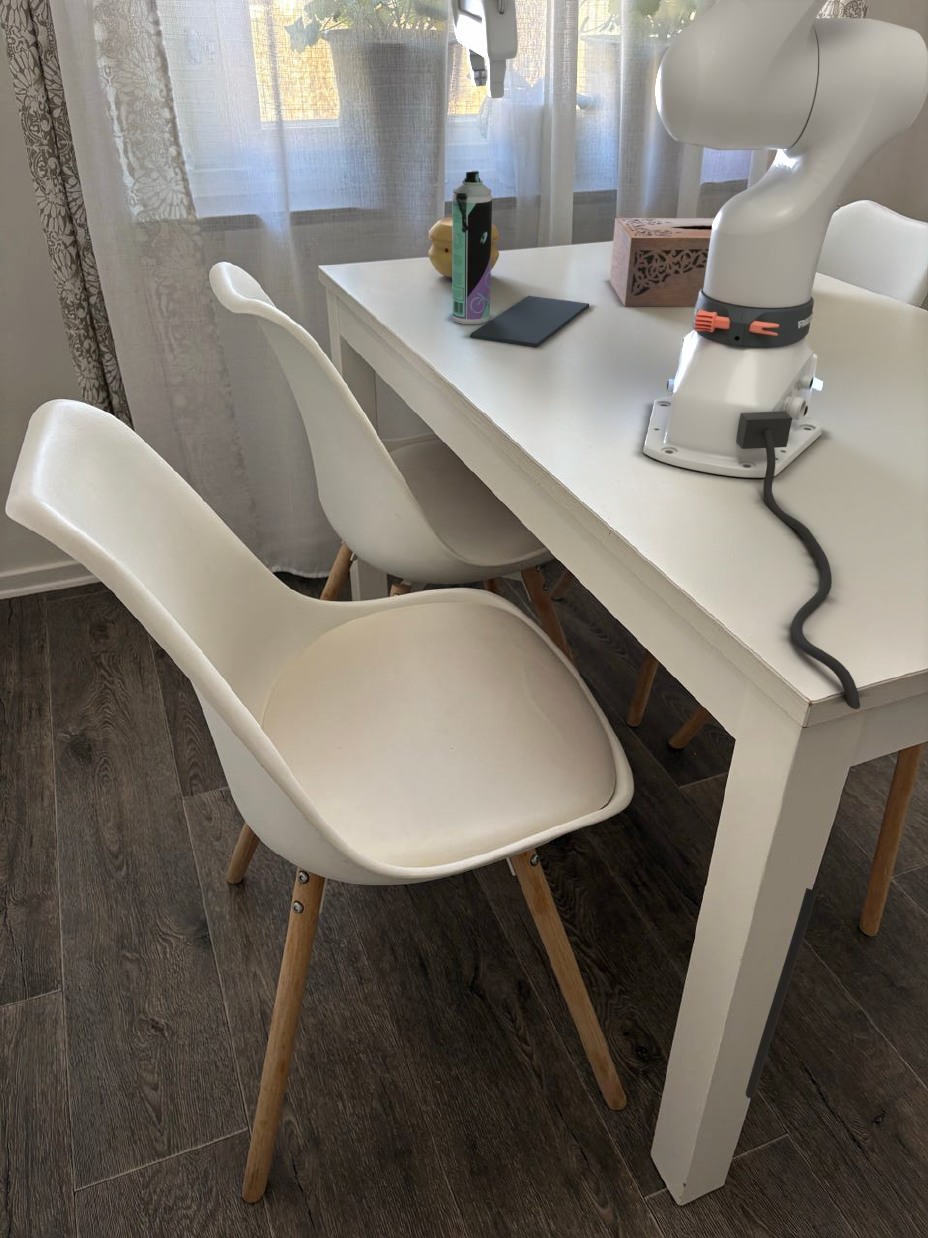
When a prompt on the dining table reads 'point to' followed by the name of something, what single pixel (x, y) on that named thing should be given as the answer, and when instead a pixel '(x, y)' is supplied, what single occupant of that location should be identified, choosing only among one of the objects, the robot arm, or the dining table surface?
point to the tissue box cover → (660, 260)
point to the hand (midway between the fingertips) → (487, 90)
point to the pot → (443, 246)
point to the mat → (530, 321)
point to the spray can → (471, 250)
